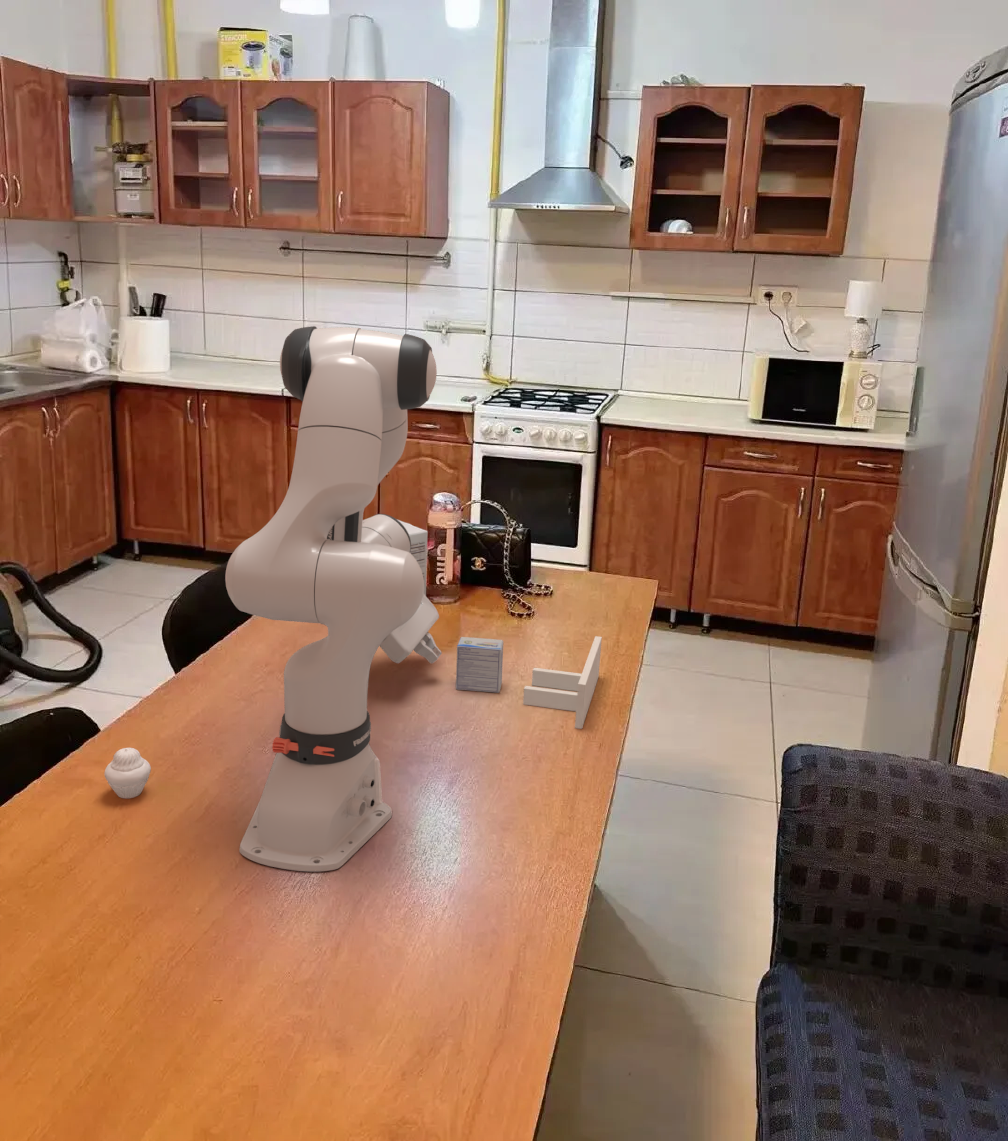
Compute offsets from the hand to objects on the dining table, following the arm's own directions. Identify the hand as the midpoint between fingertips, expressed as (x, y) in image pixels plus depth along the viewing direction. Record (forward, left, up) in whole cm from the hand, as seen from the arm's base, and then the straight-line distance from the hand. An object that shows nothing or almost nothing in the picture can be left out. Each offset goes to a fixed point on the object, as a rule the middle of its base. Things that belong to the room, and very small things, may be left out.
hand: (437, 658), depth 188 cm
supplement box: (+34, +21, -5) cm, 40 cm away
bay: (0, -22, -4) cm, 22 cm away
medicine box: (0, -8, -5) cm, 9 cm away
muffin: (-50, +31, -5) cm, 59 cm away
